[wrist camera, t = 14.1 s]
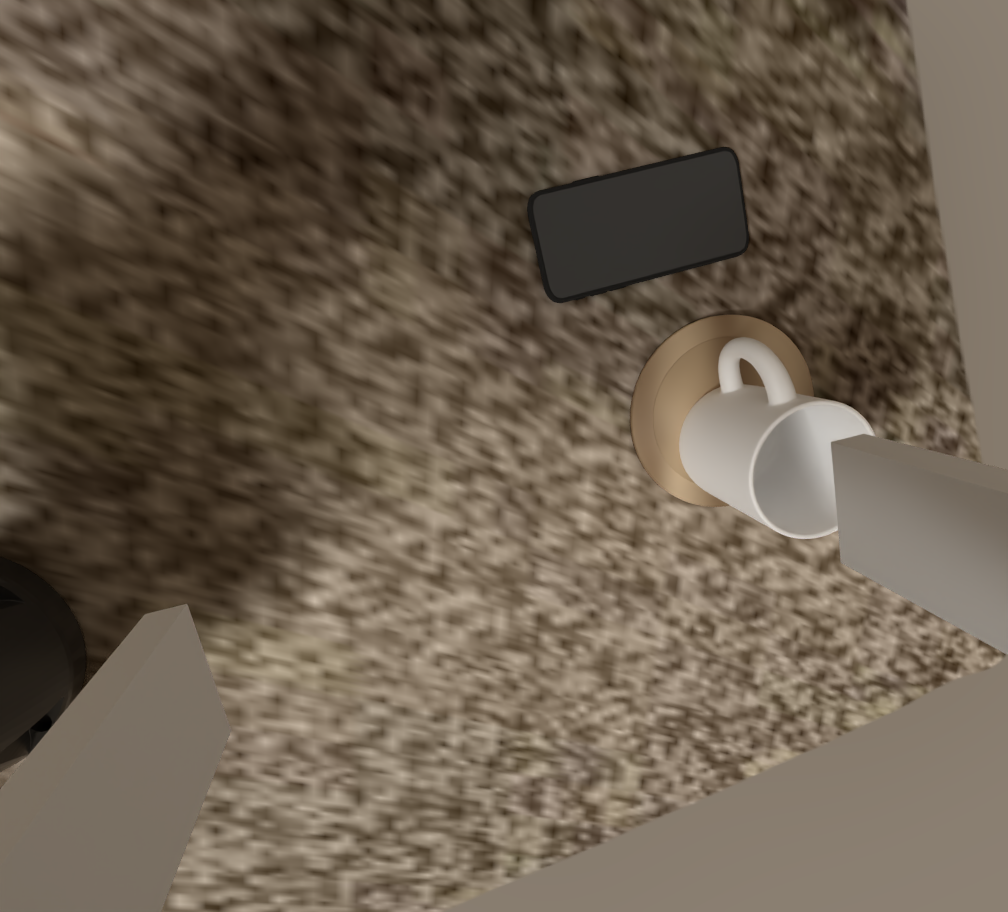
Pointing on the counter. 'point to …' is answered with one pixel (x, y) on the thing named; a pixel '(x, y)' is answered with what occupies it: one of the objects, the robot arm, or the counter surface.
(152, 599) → the counter surface
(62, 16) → the counter surface
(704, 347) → the coaster
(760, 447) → the mug
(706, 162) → the smartphone
